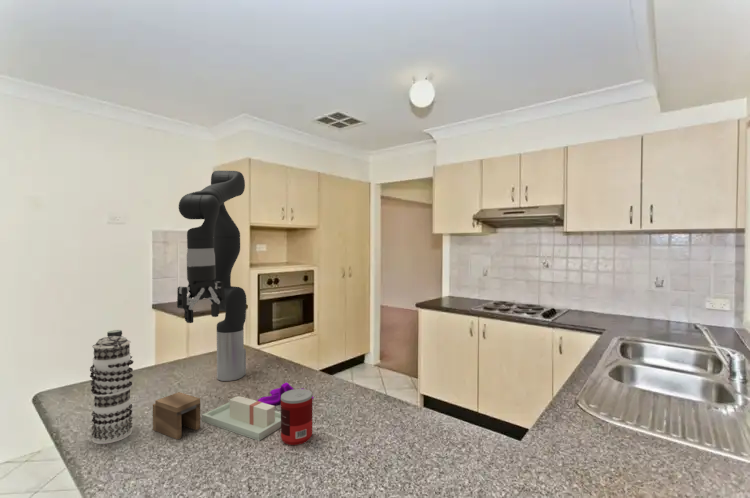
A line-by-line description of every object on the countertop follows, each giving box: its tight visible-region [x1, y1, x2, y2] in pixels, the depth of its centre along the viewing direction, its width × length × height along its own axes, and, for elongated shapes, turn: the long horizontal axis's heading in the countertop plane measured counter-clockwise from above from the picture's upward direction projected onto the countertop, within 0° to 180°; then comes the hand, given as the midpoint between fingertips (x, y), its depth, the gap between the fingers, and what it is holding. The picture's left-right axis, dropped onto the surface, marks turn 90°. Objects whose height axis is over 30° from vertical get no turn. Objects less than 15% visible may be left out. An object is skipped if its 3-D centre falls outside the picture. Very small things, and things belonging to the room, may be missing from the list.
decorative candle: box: [89, 335, 134, 445], centre depth 97 cm, size 9×9×25 cm
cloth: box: [257, 381, 315, 407], centre depth 120 cm, size 22×19×6 cm
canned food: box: [280, 388, 313, 446], centre depth 97 cm, size 8×8×11 cm
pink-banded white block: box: [229, 395, 276, 428], centre depth 104 cm, size 3×14×5 cm, turn 61°
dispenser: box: [152, 391, 201, 440], centre depth 101 cm, size 7×10×8 cm, turn 61°
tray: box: [201, 401, 281, 442], centre depth 105 cm, size 12×22×2 cm, turn 61°
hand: (202, 319), depth 111 cm, fingers open, 8 cm apart
